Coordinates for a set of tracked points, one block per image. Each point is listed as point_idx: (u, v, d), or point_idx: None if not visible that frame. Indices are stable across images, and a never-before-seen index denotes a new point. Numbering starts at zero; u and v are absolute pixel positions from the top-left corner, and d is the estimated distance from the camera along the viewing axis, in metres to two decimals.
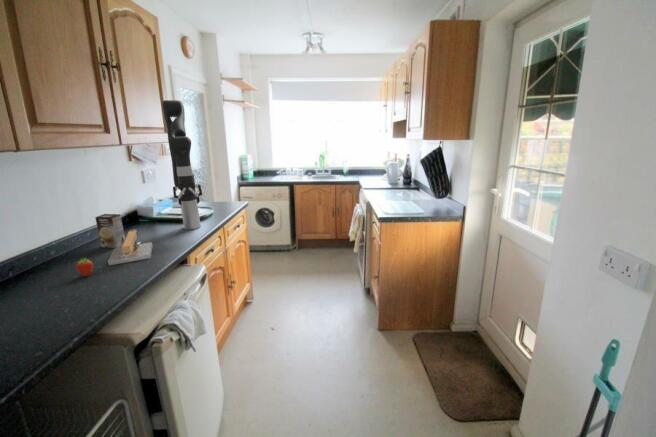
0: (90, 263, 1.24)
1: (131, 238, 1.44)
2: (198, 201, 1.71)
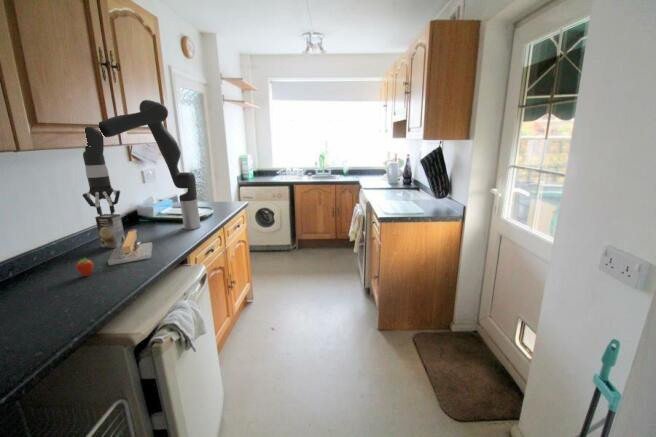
0: (90, 263, 1.24)
1: (131, 238, 1.44)
2: (112, 211, 1.36)
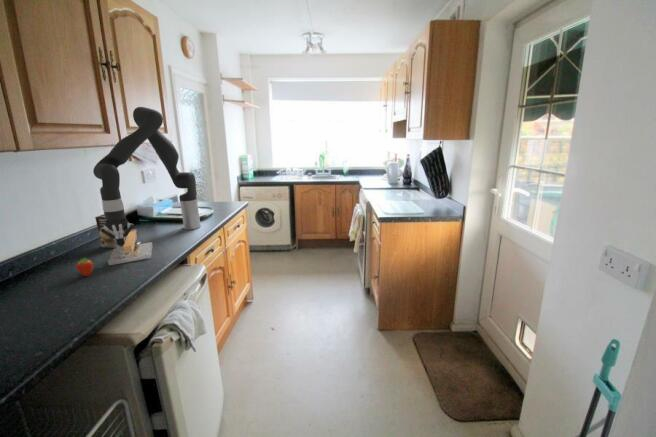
0: (90, 263, 1.24)
1: (132, 238, 1.44)
2: (122, 243, 1.41)
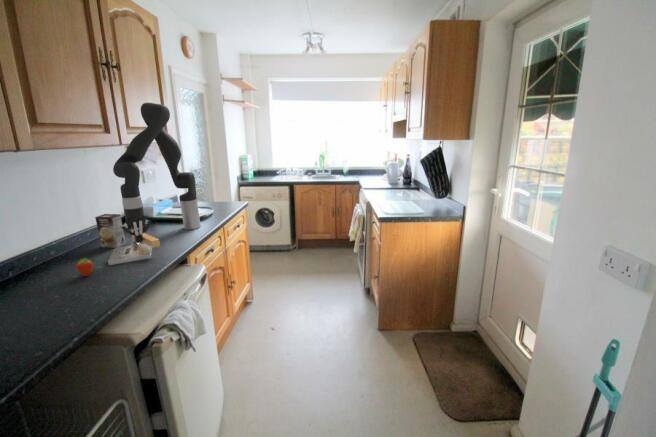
0: (90, 263, 1.24)
1: (147, 235, 1.48)
2: (141, 240, 1.44)
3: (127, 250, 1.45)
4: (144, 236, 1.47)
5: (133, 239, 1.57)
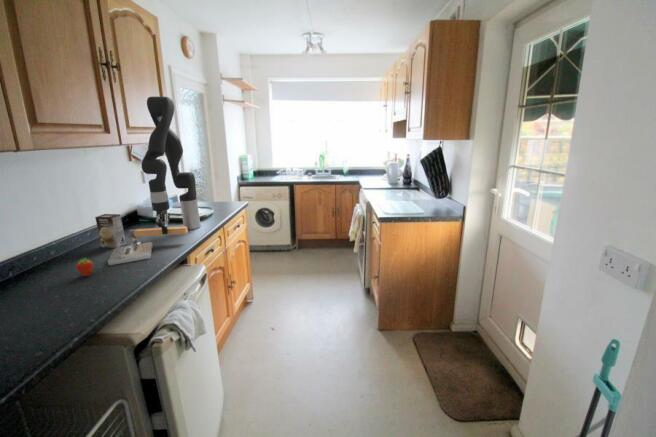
0: (90, 263, 1.24)
1: None
2: None
3: (127, 250, 1.45)
4: None
5: (133, 239, 1.57)
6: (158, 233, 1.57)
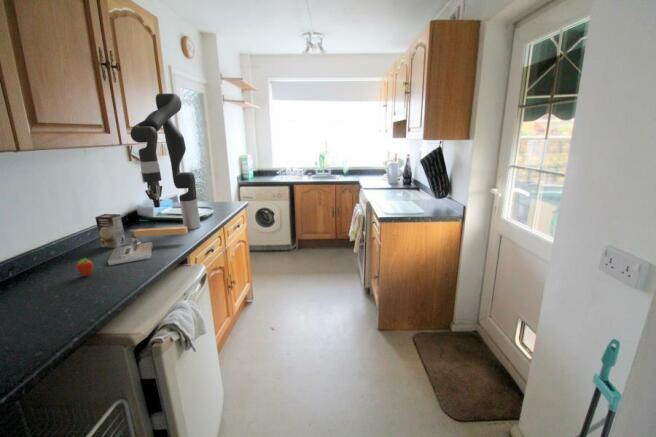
0: (90, 263, 1.24)
1: (163, 228, 1.59)
2: None
3: (127, 250, 1.45)
4: (164, 228, 1.58)
5: (133, 239, 1.57)
6: (158, 233, 1.57)
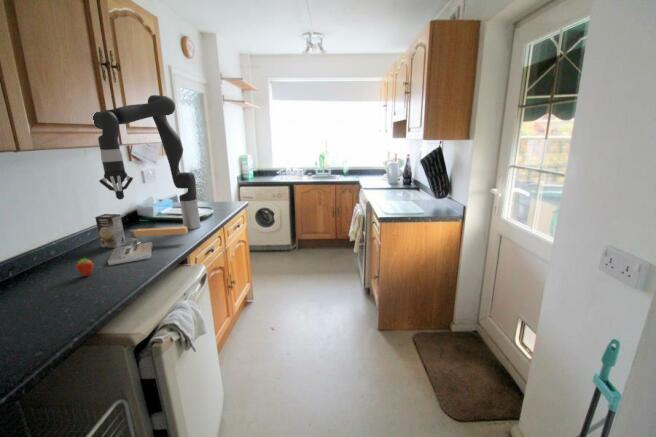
0: (90, 263, 1.24)
1: (163, 228, 1.59)
2: (122, 196, 1.38)
3: (127, 250, 1.45)
4: (164, 228, 1.58)
5: (133, 239, 1.57)
6: (158, 233, 1.57)
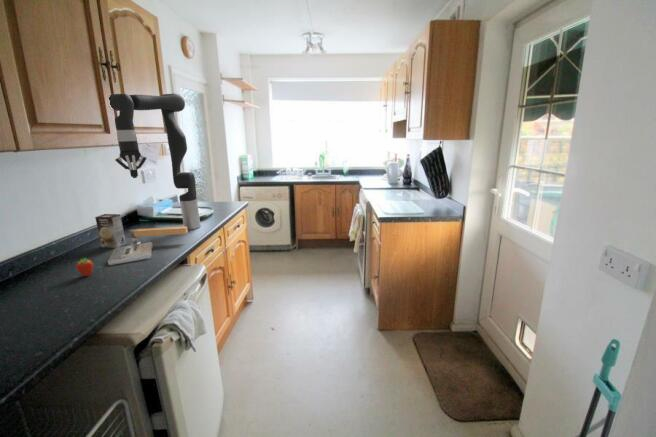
0: (90, 263, 1.24)
1: (163, 228, 1.59)
2: (136, 175, 1.46)
3: (127, 250, 1.45)
4: (164, 228, 1.58)
5: (133, 239, 1.57)
6: (158, 233, 1.57)
